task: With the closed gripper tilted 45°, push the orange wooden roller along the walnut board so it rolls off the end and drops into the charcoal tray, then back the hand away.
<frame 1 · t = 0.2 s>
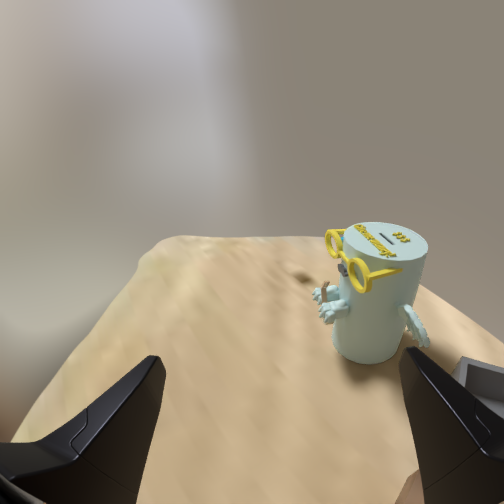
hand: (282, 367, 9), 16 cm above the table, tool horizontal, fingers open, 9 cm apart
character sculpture: (356, 341, 31), on the table
tray: (488, 439, 14), on the table
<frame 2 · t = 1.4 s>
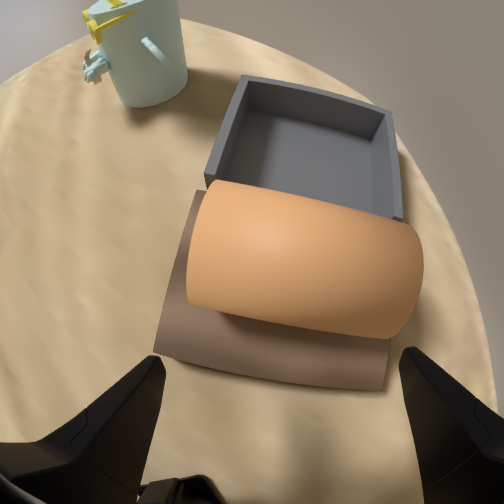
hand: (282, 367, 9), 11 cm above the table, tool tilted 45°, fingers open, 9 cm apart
board: (284, 296, 21), on the table
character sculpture: (143, 90, 27), on the table
tray: (305, 163, 24), on the table
roller: (304, 262, 15), point 6 cm above the table, touching board
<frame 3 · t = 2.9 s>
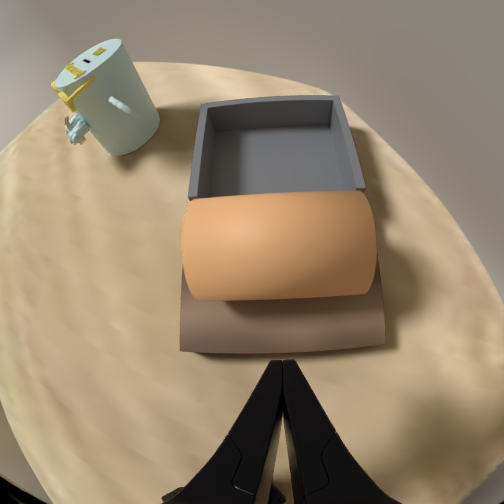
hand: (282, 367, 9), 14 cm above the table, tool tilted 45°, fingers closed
board: (281, 281, 24), on the table
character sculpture: (124, 137, 32), on the table
tray: (275, 164, 28), on the table
roller: (279, 245, 18), point 6 cm above the table, touching board
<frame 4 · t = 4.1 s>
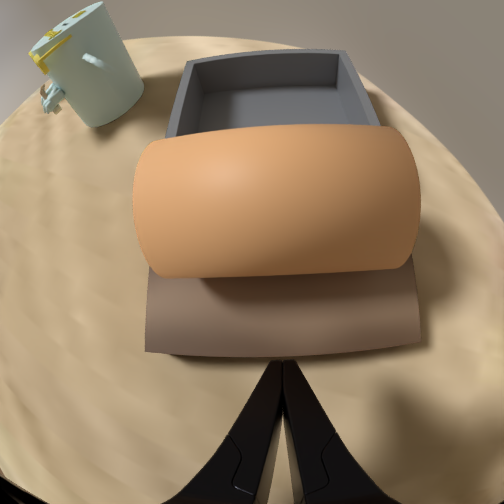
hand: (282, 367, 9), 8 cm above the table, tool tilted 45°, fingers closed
board: (281, 261, 18), on the table
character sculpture: (105, 109, 27), on the table
tray: (272, 124, 22), on the table
roller: (277, 199, 13), point 6 cm above the table, touching board
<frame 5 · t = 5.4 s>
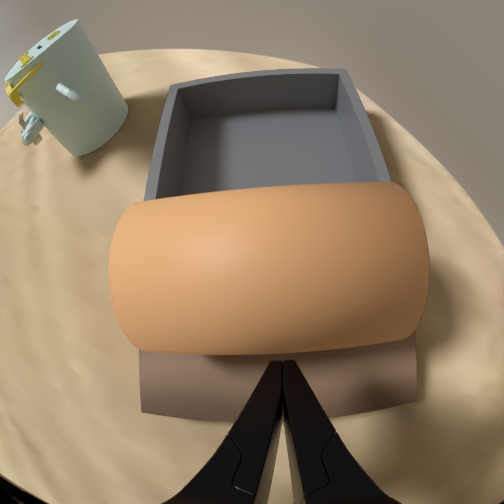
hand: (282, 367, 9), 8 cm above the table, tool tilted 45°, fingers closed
board: (275, 318, 17), on the table
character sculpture: (88, 135, 26), on the table
tray: (266, 157, 21), on the table
roller: (269, 270, 12), point 6 cm above the table, tilted 8°, touching board
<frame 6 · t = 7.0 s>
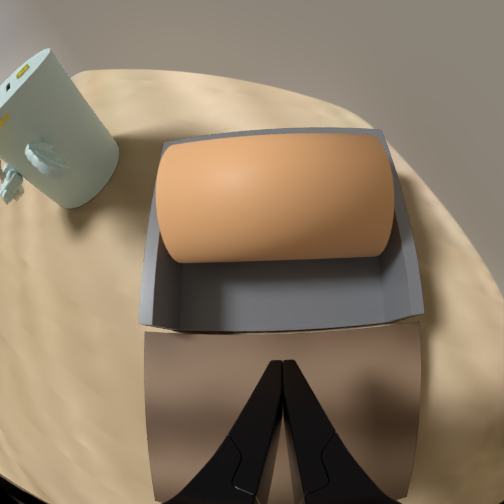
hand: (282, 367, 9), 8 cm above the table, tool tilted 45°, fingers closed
board: (283, 426, 15), on the table
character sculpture: (76, 181, 23), on the table
tray: (279, 241, 19), on the table
roller: (275, 196, 15), point 4 cm above the table, tilted 136°, touching tray
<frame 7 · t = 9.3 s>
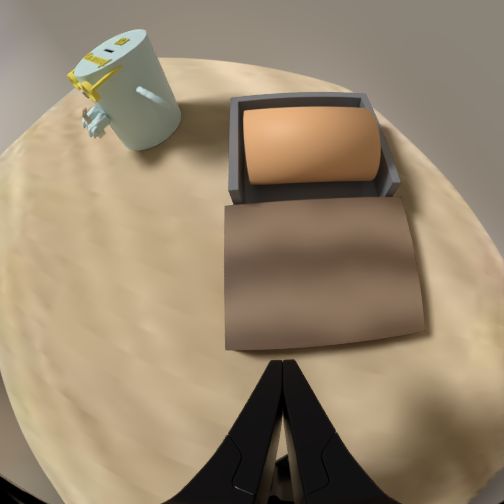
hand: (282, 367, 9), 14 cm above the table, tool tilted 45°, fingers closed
board: (322, 274, 23), on the table
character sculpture: (143, 132, 32), on the table
tray: (306, 159, 27), on the table
roller: (309, 144, 23), point 4 cm above the table, tilted 175°, touching tray
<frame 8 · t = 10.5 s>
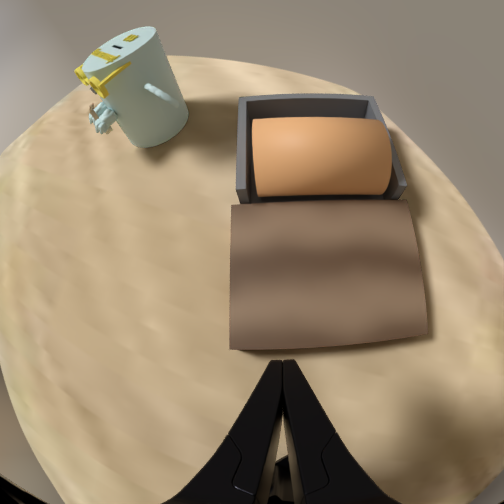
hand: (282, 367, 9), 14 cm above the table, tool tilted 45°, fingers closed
board: (327, 276, 23), on the table
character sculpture: (150, 130, 32), on the table
tray: (313, 160, 27), on the table
roller: (319, 155, 23), point 4 cm above the table, tilted 166°, touching tray
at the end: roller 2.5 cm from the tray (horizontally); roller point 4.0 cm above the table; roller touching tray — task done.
